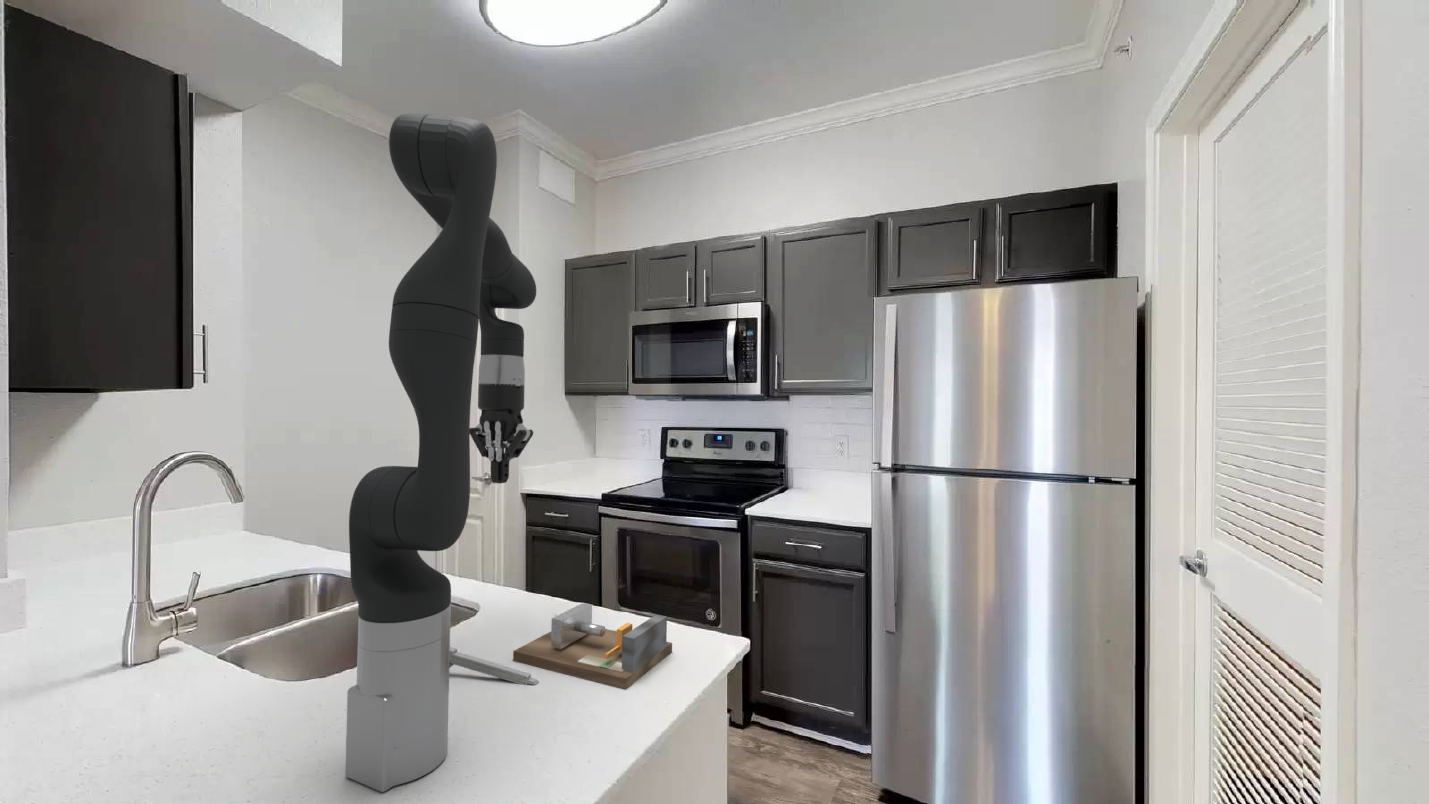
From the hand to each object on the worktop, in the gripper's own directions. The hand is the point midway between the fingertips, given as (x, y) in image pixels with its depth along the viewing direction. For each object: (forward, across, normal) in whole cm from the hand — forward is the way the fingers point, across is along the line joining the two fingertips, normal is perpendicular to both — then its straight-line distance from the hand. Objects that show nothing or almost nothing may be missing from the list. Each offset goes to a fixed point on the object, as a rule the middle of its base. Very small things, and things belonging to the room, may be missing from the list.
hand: (499, 482), depth 99 cm
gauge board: (+27, +19, +2) cm, 33 cm away
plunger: (+25, +17, +2) cm, 30 cm away
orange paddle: (+24, +25, 0) cm, 35 cm away
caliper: (+28, +7, -12) cm, 31 cm away
